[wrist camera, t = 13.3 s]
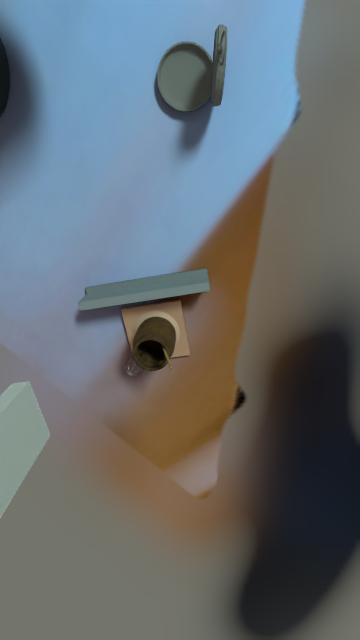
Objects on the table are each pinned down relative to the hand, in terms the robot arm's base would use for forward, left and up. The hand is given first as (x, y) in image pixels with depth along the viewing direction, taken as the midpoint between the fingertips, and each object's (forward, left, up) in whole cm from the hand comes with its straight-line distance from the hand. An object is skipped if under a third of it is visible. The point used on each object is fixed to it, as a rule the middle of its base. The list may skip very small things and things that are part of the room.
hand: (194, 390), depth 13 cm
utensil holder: (+12, -8, -34) cm, 37 cm away
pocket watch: (-19, +3, -35) cm, 40 cm away
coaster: (+12, -8, -35) cm, 37 cm away
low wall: (+4, -8, -35) cm, 36 cm away
